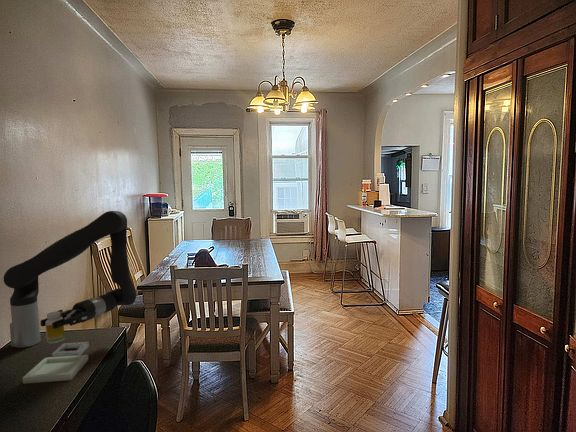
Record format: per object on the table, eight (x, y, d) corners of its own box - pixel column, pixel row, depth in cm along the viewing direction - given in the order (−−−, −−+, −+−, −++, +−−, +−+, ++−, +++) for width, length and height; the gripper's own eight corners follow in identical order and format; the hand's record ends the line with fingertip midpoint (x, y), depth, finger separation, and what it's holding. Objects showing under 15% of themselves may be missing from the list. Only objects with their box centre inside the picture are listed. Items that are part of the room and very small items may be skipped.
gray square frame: (52, 358, 148) (51, 353, 148) (63, 347, 157) (63, 343, 157) (79, 356, 149) (78, 351, 149) (88, 346, 158) (88, 341, 158)
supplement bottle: (67, 339, 137) (64, 312, 136) (49, 344, 133) (47, 317, 132) (61, 336, 140) (59, 309, 140) (44, 340, 137) (42, 313, 136)
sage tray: (22, 383, 129) (22, 377, 129) (45, 362, 144) (45, 357, 144) (71, 380, 131) (70, 374, 131) (88, 359, 146) (88, 354, 146)
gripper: (75, 297, 152) (32, 311, 136) (102, 301, 146) (60, 316, 130) (76, 316, 152) (34, 332, 137) (104, 320, 147) (62, 338, 131)
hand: (47, 324), depth 134 cm, fingers closed on supplement bottle, 5 cm apart
